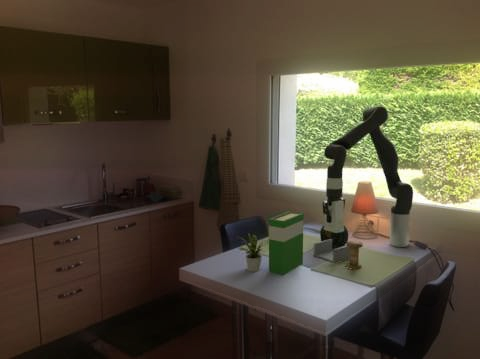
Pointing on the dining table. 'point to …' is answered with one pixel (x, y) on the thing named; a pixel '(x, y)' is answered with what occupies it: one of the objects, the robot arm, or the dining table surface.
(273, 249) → the hardback book
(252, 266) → the house plant
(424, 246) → the dining table surface
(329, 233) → the squash
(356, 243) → the bobbin
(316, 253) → the notch cradle
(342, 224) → the skincare box
